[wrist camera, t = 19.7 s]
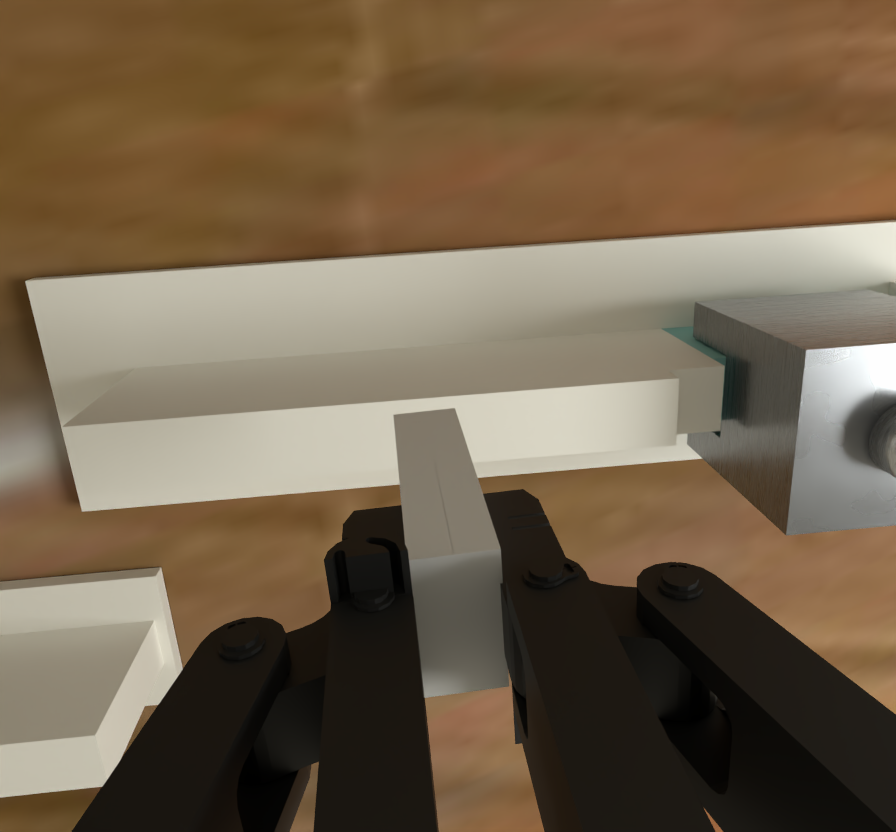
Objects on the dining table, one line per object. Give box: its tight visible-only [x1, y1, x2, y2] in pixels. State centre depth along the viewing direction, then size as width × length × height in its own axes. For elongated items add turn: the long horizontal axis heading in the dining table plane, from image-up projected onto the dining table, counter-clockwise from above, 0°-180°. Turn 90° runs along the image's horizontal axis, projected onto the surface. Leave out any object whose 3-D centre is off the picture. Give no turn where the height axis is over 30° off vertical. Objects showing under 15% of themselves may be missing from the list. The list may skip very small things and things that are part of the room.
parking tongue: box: [0, 567, 183, 797], centre depth 31 cm, size 7×10×8 cm
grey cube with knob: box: [687, 289, 896, 535], centre depth 25 cm, size 6×7×9 cm
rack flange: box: [25, 220, 896, 512], centre depth 27 cm, size 10×37×10 cm, turn 93°
